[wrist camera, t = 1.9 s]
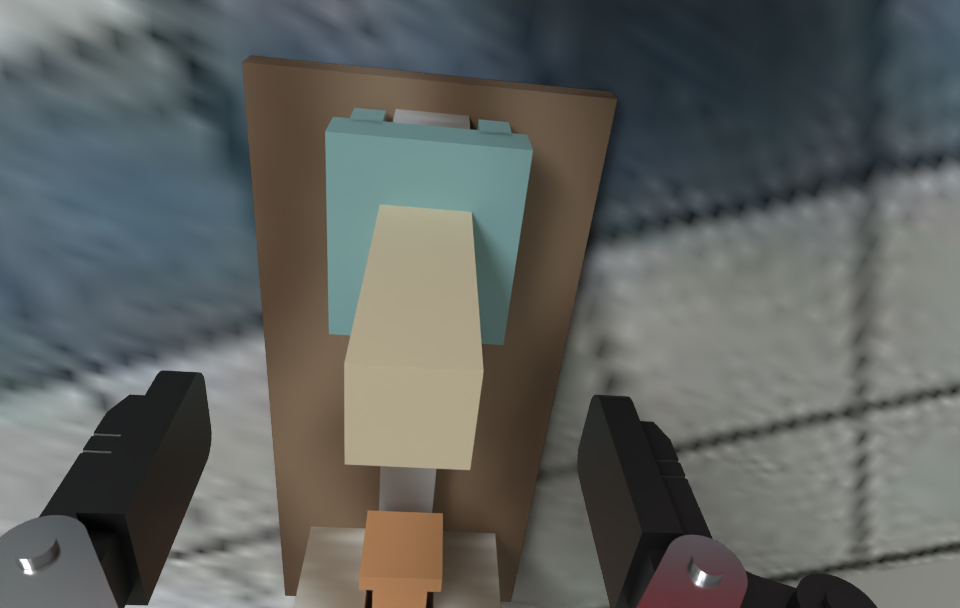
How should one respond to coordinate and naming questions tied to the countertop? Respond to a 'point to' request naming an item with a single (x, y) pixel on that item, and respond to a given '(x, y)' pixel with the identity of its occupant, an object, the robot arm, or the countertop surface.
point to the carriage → (419, 278)
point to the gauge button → (402, 558)
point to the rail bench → (320, 356)
